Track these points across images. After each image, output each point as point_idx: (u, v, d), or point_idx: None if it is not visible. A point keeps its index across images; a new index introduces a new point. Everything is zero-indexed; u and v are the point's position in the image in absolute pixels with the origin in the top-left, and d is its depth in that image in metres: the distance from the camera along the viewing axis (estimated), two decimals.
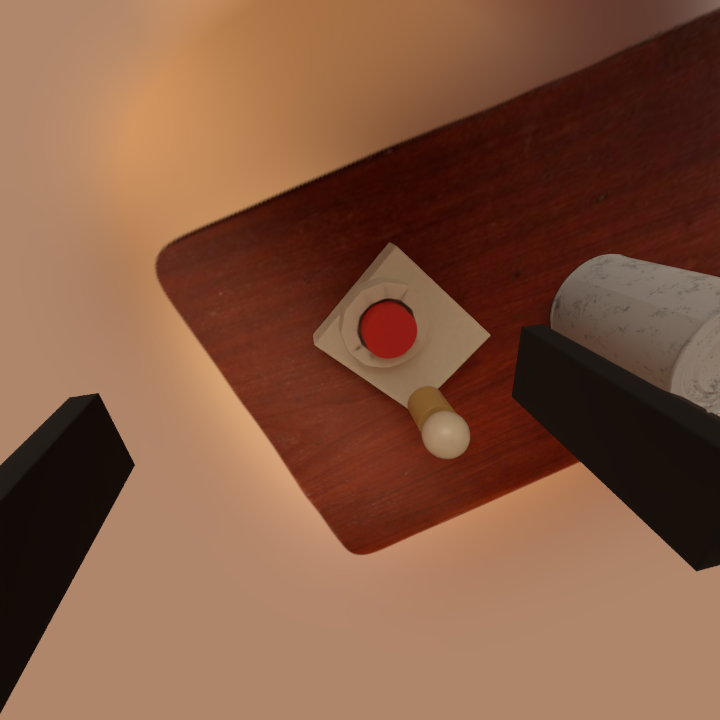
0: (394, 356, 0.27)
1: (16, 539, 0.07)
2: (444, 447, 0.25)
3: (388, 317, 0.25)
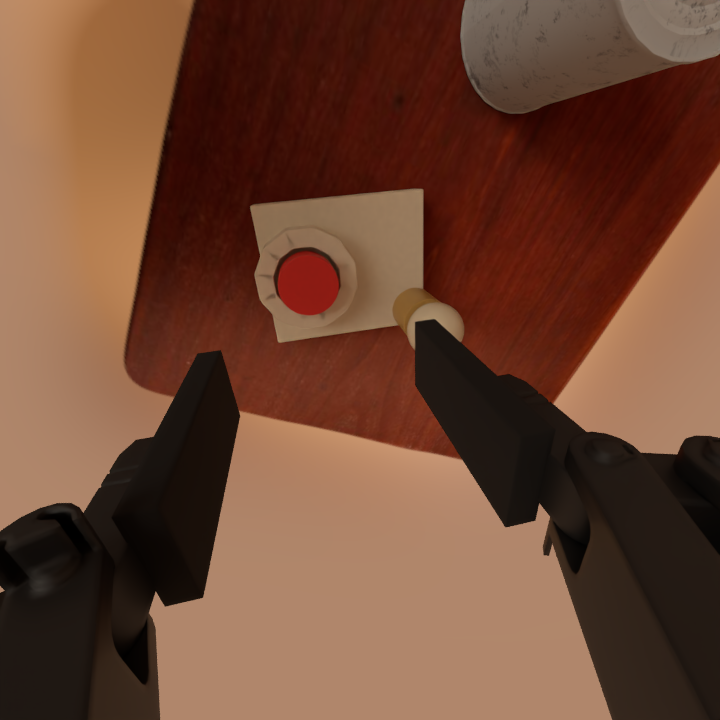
0: (333, 301, 0.24)
1: (202, 447, 0.09)
2: None
3: (290, 276, 0.22)
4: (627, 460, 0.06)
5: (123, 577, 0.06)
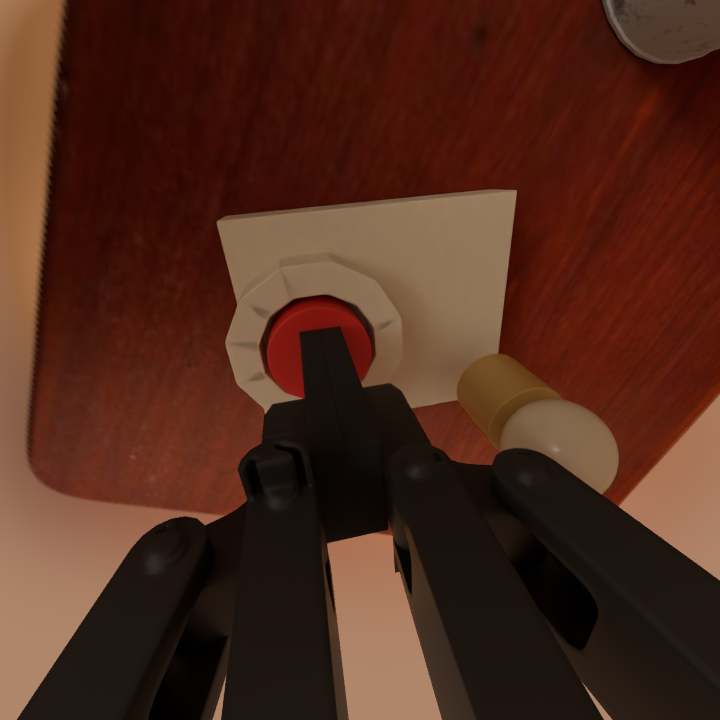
0: (360, 377, 0.14)
1: None
2: None
3: (288, 342, 0.13)
4: (437, 469, 0.06)
5: (322, 515, 0.07)
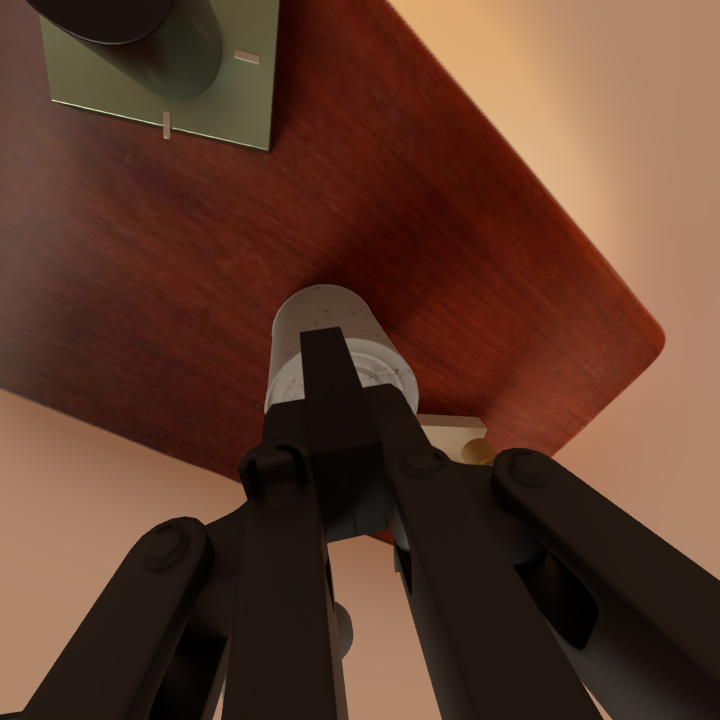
0: None
1: None
2: None
3: None
4: (437, 469, 0.06)
5: (322, 515, 0.07)
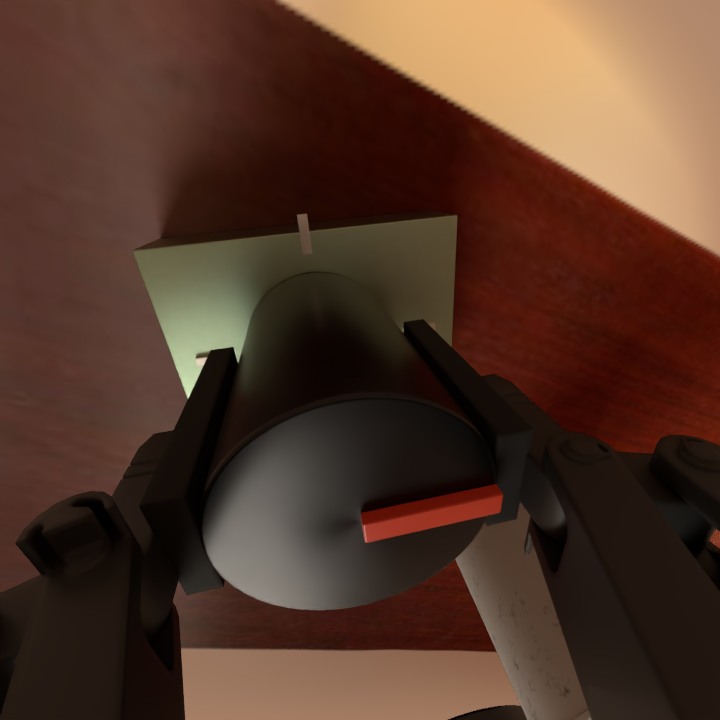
0: None
1: None
2: None
3: None
4: (602, 459, 0.06)
5: (150, 565, 0.06)
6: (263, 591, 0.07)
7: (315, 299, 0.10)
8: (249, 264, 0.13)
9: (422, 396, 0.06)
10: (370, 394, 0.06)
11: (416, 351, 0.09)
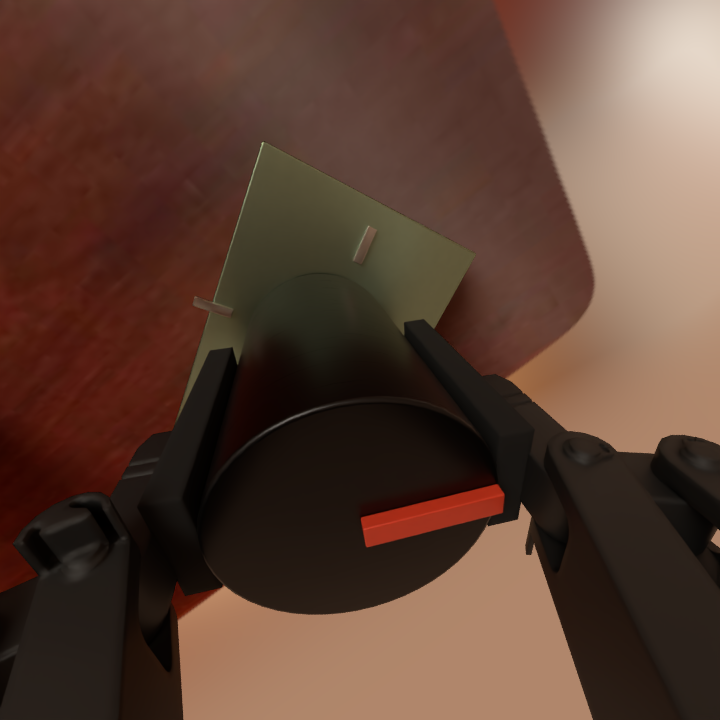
0: None
1: None
2: None
3: None
4: (603, 459, 0.06)
5: (148, 566, 0.06)
6: (266, 597, 0.07)
7: (311, 302, 0.10)
8: None
9: (417, 399, 0.06)
10: (364, 399, 0.06)
11: (414, 351, 0.09)
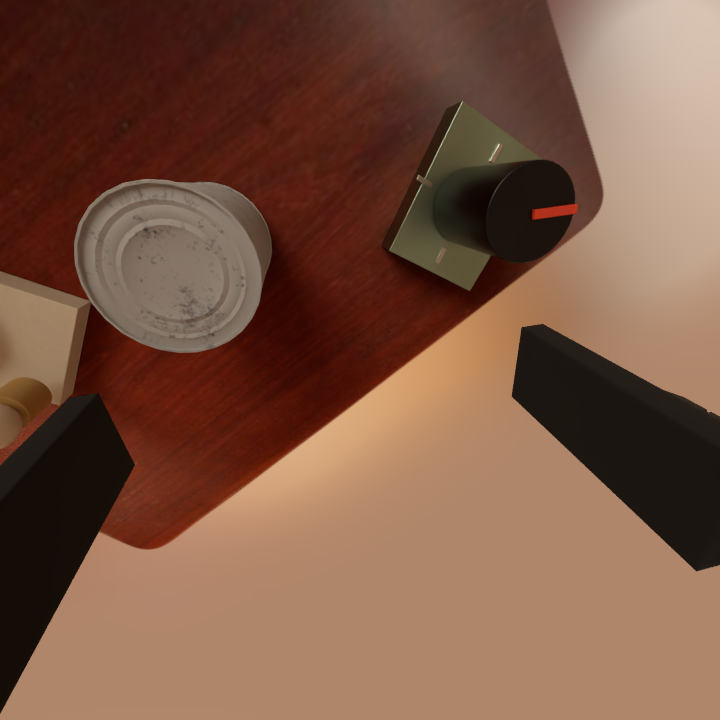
0: None
1: (16, 539, 0.07)
2: None
3: None
4: None
5: None
6: (496, 244, 0.22)
7: None
8: None
9: (556, 163, 0.21)
10: (543, 159, 0.21)
11: None
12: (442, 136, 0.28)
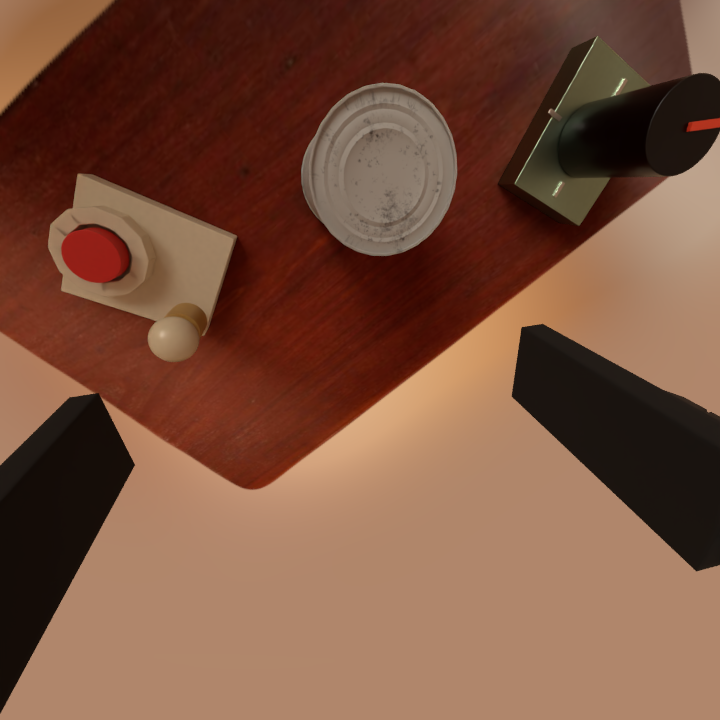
0: (110, 279, 0.28)
1: (16, 539, 0.07)
2: (157, 348, 0.26)
3: (76, 241, 0.26)
4: None
5: None
6: (652, 156, 0.25)
7: None
8: None
9: (715, 77, 0.23)
10: (706, 73, 0.23)
11: None
12: (573, 71, 0.30)
